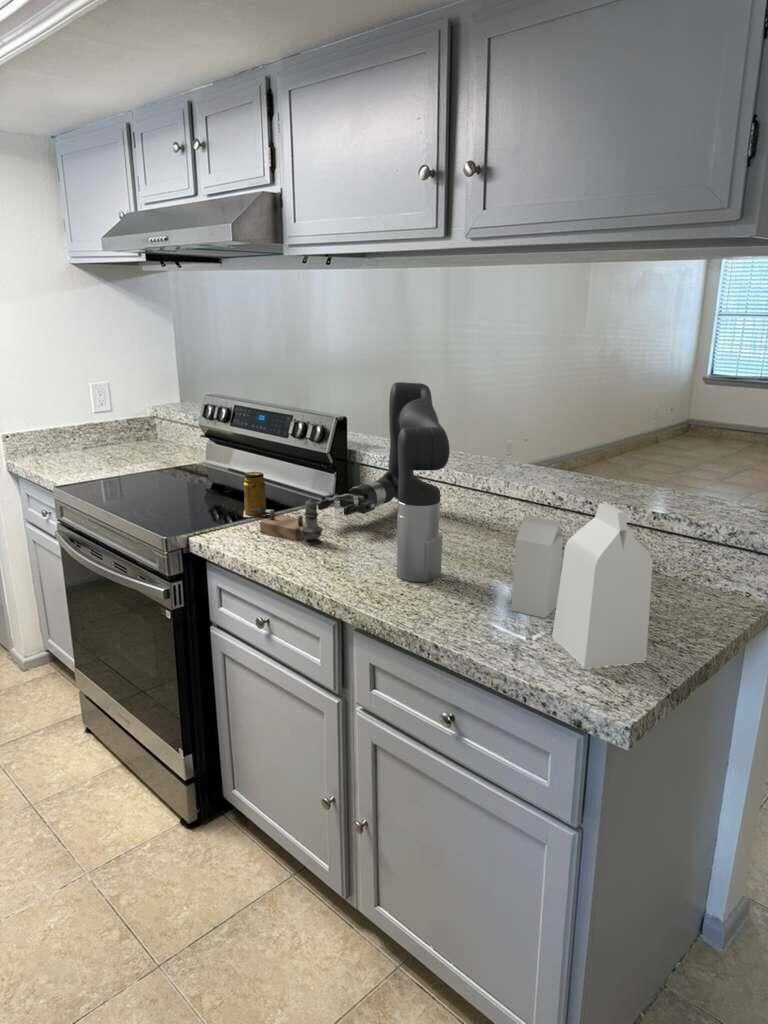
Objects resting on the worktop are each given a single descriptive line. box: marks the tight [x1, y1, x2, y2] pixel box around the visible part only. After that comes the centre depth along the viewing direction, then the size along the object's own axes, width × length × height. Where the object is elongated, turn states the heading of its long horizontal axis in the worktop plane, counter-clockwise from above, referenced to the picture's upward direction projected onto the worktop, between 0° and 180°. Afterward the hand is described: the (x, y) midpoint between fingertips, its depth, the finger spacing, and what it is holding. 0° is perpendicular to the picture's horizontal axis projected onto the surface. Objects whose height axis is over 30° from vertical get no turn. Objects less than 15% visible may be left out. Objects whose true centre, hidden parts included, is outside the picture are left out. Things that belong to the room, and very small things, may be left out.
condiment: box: [243, 471, 271, 518], centre depth 206 cm, size 7×8×12 cm
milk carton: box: [510, 514, 564, 619], centre depth 141 cm, size 7×7×19 cm
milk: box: [551, 502, 653, 668], centre depth 123 cm, size 12×12×26 cm
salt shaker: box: [300, 496, 324, 546], centre depth 181 cm, size 6×6×12 cm
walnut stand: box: [259, 509, 305, 542], centre depth 189 cm, size 12×7×6 cm, turn 57°
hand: (331, 508), depth 188 cm, fingers open, 8 cm apart
